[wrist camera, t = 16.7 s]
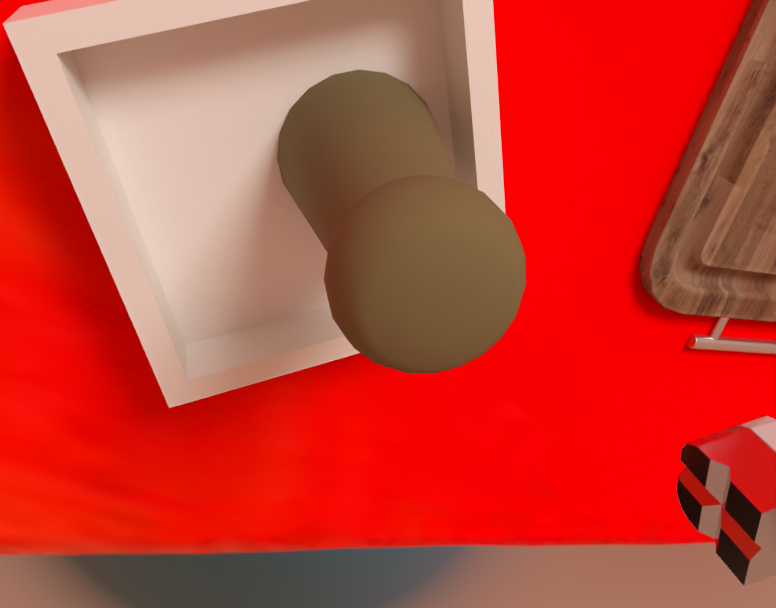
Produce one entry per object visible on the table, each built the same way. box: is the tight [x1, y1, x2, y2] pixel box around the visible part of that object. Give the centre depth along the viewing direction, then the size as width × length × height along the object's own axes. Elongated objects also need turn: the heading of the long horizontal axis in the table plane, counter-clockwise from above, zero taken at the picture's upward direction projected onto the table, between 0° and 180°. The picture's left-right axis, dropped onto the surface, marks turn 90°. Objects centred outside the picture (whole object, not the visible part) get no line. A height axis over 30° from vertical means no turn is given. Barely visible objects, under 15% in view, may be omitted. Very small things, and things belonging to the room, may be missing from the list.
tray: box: [3, 0, 505, 408], centre depth 25 cm, size 14×14×3 cm
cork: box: [277, 69, 526, 374], centre depth 21 cm, size 6×6×11 cm
